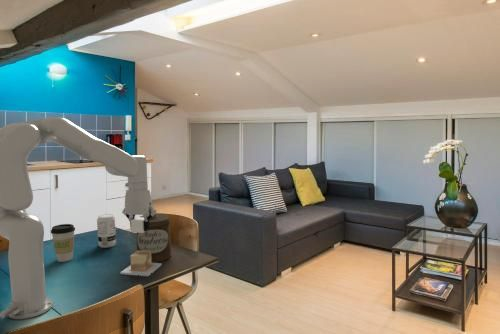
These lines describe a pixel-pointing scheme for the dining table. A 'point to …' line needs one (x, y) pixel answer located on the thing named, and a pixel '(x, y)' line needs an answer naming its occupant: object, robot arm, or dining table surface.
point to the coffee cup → (63, 241)
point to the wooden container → (156, 238)
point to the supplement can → (106, 230)
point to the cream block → (137, 225)
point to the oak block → (141, 260)
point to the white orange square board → (140, 272)
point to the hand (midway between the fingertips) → (140, 229)
